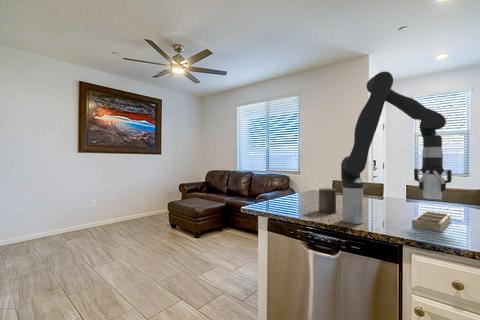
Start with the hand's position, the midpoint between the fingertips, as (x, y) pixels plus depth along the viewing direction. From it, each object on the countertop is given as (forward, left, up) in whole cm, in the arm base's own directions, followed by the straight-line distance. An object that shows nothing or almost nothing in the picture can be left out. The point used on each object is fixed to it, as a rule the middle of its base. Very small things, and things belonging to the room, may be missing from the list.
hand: (432, 190), depth 109 cm
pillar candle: (-15, +46, -17) cm, 51 cm away
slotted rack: (0, 0, -16) cm, 16 cm away
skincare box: (0, 0, -4) cm, 4 cm away
